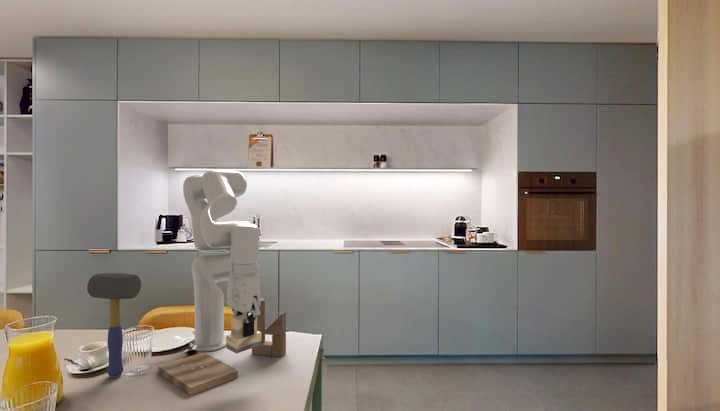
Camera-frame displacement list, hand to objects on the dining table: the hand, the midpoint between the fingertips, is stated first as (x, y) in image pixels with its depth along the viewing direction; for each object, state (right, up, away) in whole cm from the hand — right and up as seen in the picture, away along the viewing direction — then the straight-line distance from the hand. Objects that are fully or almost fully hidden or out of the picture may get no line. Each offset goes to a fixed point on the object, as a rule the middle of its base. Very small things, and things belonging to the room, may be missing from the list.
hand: (244, 333), depth 110 cm
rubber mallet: (-38, -14, +4) cm, 41 cm away
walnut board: (-15, -14, +5) cm, 21 cm away
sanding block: (0, -4, 0) cm, 4 cm away
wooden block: (+2, -14, +21) cm, 25 cm away
